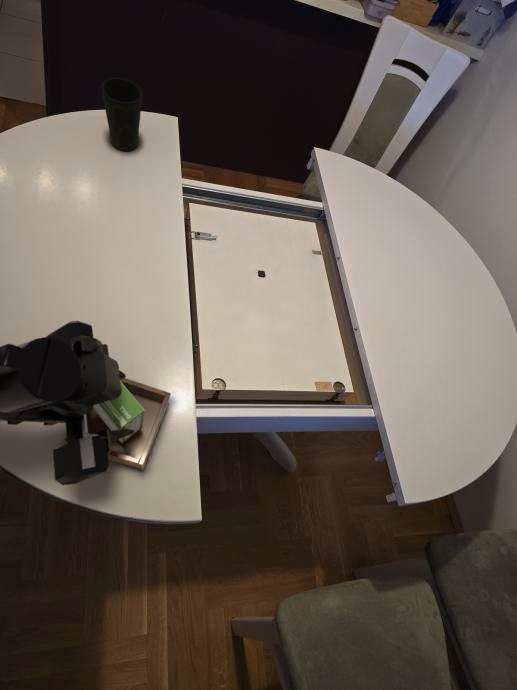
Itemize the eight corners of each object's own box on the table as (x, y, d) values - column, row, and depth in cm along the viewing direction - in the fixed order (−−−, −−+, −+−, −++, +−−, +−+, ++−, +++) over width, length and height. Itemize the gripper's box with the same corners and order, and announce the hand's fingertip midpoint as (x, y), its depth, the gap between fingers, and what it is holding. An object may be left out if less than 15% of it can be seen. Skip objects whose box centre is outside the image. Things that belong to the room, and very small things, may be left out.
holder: (69, 447, 58) (63, 441, 54) (102, 380, 64) (99, 369, 60) (143, 470, 60) (143, 465, 55) (168, 402, 65) (170, 393, 61)
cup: (104, 130, 87) (98, 75, 77) (139, 131, 90) (138, 78, 79) (109, 155, 84) (104, 102, 74) (145, 155, 87) (145, 104, 77)
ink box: (144, 427, 59) (146, 401, 48) (122, 444, 57) (118, 422, 46) (116, 393, 60) (111, 359, 49) (93, 409, 58) (82, 378, 47)
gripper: (74, 462, 34) (186, 455, 47) (58, 282, 40) (160, 321, 54) (-3, 493, 38) (120, 479, 51) (-6, 325, 45) (104, 351, 58)
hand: (127, 404), depth 54 cm, fingers closed on ink box, 8 cm apart
